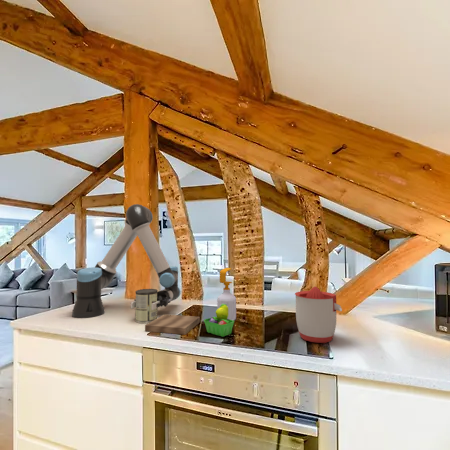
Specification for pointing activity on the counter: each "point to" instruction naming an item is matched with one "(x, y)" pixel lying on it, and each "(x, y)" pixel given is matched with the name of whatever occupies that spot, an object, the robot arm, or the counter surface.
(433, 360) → the counter surface
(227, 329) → the fruit basket
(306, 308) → the citrus juicer
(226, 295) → the soap bottle
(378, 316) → the counter surface
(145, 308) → the coffee can
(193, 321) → the walnut trivet board
